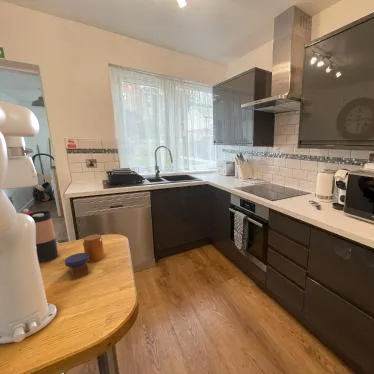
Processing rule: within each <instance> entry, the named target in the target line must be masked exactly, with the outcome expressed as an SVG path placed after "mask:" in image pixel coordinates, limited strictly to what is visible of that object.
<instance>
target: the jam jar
mask: <svg viewBox="0 0 374 374" xmlns="http://www.w3.org/2000/svg"><path fill="white" fill-rule="evenodd" d="M82 245H83V253H88V255H89V260H88V262H87V263H93V262H95V263H96V262H98V261H101V260H103V259H104V258H105V250H104V249H105V248H104V241H103V238H102V235H101V234H95V233H94V234H90V235H87V236H85V237H84V238H83V242H82Z"/></svg>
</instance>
